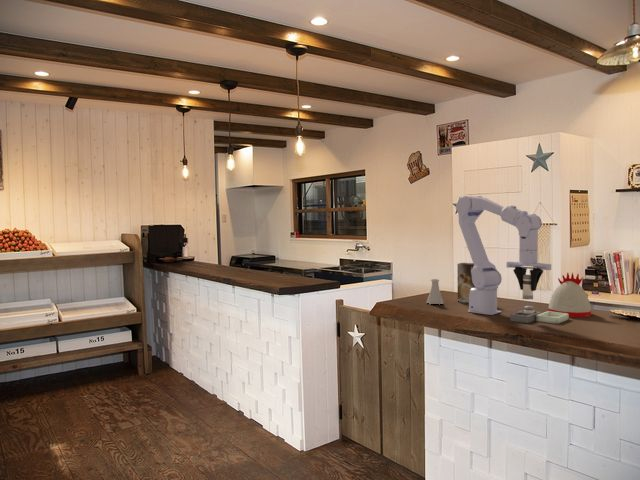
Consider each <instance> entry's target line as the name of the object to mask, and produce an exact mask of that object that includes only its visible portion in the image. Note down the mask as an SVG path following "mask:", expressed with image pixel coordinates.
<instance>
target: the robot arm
mask: <svg viewBox="0 0 640 480" xmlns="http://www.w3.org/2000/svg"><path fill="white" fill-rule="evenodd" d="M455 208H456V211H457V214H458V225H459V228H460V230H461V234H462V236H463V239H464V241H465V245H466V247H467V249H468V252H469V255H470V257H471V260H472V263H473V264H474V267H473V268H472V270H471V273H472V282H473V284H474V286H475V288H472V289H471V290H470V293H469V303H468V310H467V311H468V312H469V313H474V314H482V315H489V316H493V315H496V314H500V313H502V310H498V289H499V285H501V283H502V280H503V279H502V274H501V273H500V272H499V270H498V269H497V266H496V265H495V264H494V263H492V262H491V261H490V260H489V258H488V254H487V253H486V250H485V248H484V247H485V246H484V245H483V242H482V240H481V236H480V234H479V231H478V228H477V225H476V221H477V220H478V219H479V217H480V216H481V215H482V214H483V212H484V211H487V212H489V213H492V214H494V215H497V216H500V219H501V221H502V222H505V223H507V224H509V225H511V226H513V227H516V229H517V230H518V231H517V232H518V236H519V241H518V243H519V245H518V246H519V251H518V252H519V253H518V255H519V259H518V261H506V268H507V269H508V268H513V270H512V271H513V273H514V275H515V277H516V278H517V282H518V284H519V290H520V291H523V275H527V270H528V269H530V270H529V273H530V274H529V275H531V291H533V292H535V291H537V287H538V283H539V281H540V278H541V277H542V275H543V273H544V271H551V270H552V263H541V262H538V258H539V257H538V256H539V255H538V254H539V251H538V250H539V249H538V246H539V244H538V243H539V242H538V241H539V236H538V235H539V231H540V229H541V227H542V225H543V224H542V223H543V222H542V219H541V217H540V216H539V215H537V214H536V213H532V214H529V213H528V211H527V210H521V209H518V208H517V206H516V205H508V206H503V205H501V204H499V203H497V202H494V201H493V200H491V199H489V198H487V197H483V196H481V195H480V196H479V195H478V196H468V195H462V196H460V197H459V198H458V200H457V203H456V205H455Z"/></svg>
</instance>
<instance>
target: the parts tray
mask: <svg viewBox="0 0 640 480" xmlns="http://www.w3.org/2000/svg"><path fill="white" fill-rule="evenodd" d="M569 319H570V317H569V314H567V313H559V312H551V311H548V310H547V311H545V312H541V314H538V315H536V320H535V321H536V322H540V323H548V324H554V325H555V324H556V325H559V324H561V323H563V322H566V321H568V320H569Z"/></svg>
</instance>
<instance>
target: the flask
mask: <svg viewBox="0 0 640 480" xmlns="http://www.w3.org/2000/svg"><path fill="white" fill-rule="evenodd" d="M430 280H431V287H430V291H429V294H428V297H427V300H426V303H425V304H427V303H429V304H428V305H431V304H439V305H440V304H443V305H444V303H445V302H444V300H443V296H442V293H441V291H440V290H441V289H440V286H439V281H440V279H438V278H437V279H436V278H432V279H430ZM439 305H438V306H439Z"/></svg>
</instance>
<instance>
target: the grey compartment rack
mask: <svg viewBox="0 0 640 480" xmlns="http://www.w3.org/2000/svg"><path fill="white" fill-rule="evenodd" d="M541 313H542V311H536V310H535V306H533V305H524V306H523V309H522V310H519V311H516V312H513V313H510V314H509V321H511V322H518V323H524V324H529V323H532V322H535V321H536V315H538V314H541Z"/></svg>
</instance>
